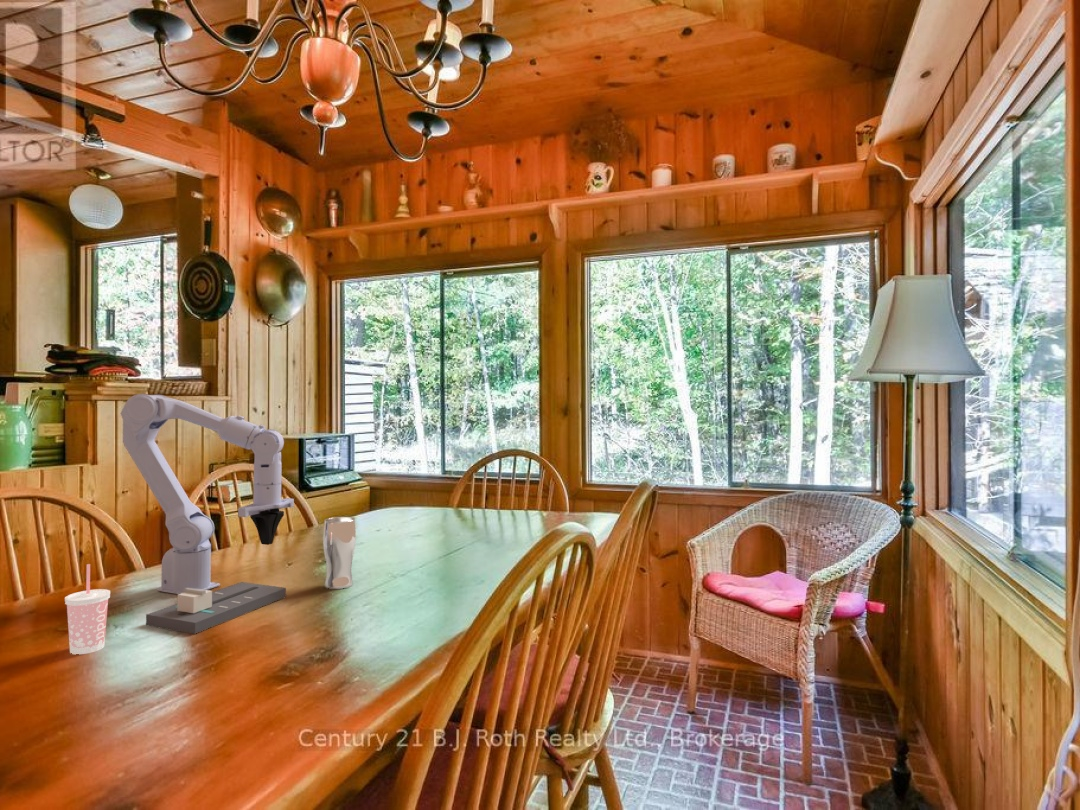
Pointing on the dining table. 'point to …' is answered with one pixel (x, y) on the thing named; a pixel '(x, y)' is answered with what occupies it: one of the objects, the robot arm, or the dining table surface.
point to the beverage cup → (87, 618)
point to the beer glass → (339, 551)
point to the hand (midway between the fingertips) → (266, 543)
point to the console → (217, 608)
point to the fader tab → (194, 600)
